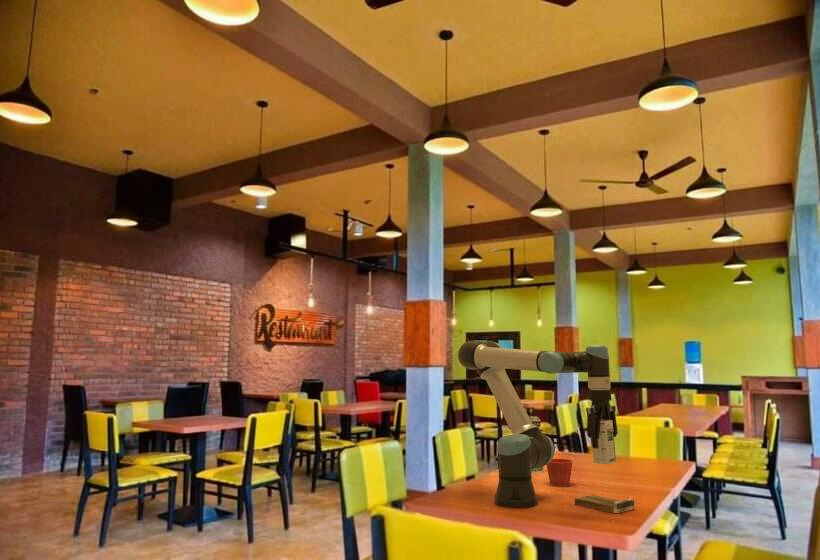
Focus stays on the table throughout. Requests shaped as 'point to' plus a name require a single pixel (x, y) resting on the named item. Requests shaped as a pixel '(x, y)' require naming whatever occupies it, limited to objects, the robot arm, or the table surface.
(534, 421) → the decorative candle
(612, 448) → the syrup box
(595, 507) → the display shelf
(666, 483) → the table surface
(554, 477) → the flower pot
